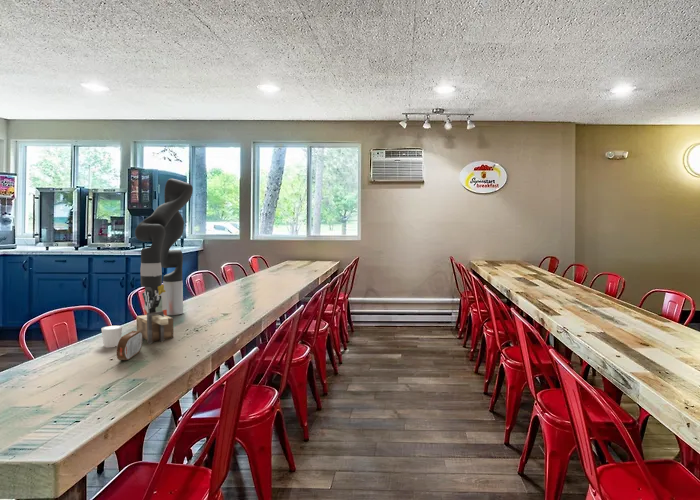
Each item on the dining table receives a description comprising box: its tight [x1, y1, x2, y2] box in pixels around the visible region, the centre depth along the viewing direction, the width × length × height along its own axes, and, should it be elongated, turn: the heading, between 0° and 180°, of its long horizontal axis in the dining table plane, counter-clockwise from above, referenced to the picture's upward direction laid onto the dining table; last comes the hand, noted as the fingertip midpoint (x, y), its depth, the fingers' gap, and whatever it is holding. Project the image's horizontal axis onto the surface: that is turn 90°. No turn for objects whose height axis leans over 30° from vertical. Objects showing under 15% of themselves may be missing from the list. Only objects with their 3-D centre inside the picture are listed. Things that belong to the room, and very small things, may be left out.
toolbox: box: [136, 311, 174, 345], centre depth 164 cm, size 16×10×12 cm, turn 48°
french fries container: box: [144, 284, 168, 316], centre depth 188 cm, size 5×11×18 cm, turn 60°
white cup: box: [100, 324, 123, 348], centre depth 153 cm, size 7×7×7 cm
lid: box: [136, 298, 172, 323], centre depth 165 cm, size 12×9×9 cm
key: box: [152, 314, 168, 325], centre depth 155 cm, size 10×2×2 cm, turn 48°
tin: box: [116, 330, 144, 361], centre depth 141 cm, size 15×3×8 cm, turn 5°
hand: (152, 317), depth 159 cm, fingers closed
